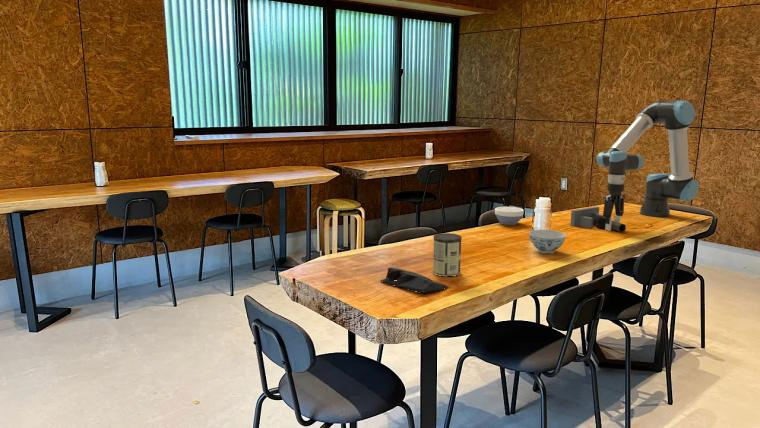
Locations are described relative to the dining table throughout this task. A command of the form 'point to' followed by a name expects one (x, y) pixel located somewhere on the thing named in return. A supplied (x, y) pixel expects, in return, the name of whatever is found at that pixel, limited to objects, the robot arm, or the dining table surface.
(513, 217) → the bowl
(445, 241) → the coffee can
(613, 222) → the black flashlight
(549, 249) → the chinaware
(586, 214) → the socket block
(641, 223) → the dining table surface
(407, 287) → the black cloth
